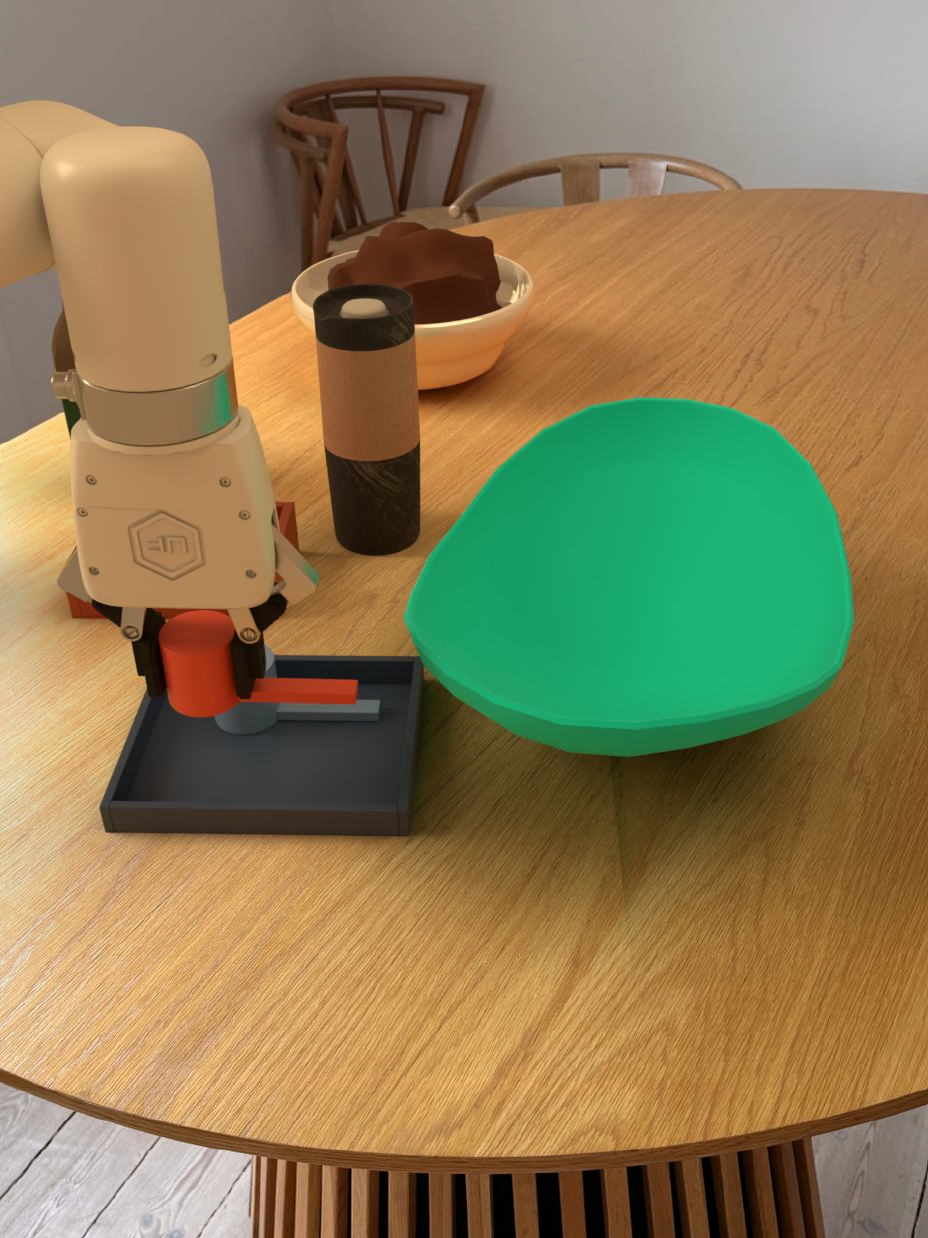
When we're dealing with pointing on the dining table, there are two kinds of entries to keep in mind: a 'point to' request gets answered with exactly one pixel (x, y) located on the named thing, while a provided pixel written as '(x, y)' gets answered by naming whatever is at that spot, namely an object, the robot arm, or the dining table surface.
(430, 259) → the bowl of brown chunks
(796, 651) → the table top decor
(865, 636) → the dining table surface
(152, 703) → the dark grey tray
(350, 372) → the travel mug
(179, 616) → the red measuring scoop
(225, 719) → the grey handled cylinder
